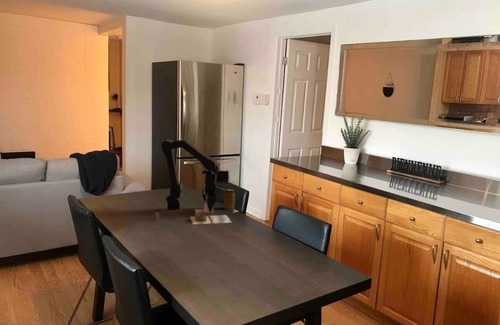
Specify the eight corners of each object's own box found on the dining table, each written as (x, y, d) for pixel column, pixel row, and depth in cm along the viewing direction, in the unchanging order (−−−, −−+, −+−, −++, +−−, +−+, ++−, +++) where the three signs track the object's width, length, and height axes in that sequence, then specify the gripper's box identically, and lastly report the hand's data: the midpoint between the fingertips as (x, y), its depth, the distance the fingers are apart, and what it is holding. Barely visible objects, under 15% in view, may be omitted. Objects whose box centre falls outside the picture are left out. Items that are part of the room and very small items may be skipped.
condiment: (230, 207, 232) (231, 187, 230) (239, 211, 225) (240, 191, 223) (220, 209, 227) (221, 189, 225) (228, 213, 221) (229, 192, 219)
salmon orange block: (205, 214, 216) (206, 204, 215) (204, 212, 220) (204, 202, 219) (213, 214, 217) (213, 203, 216) (211, 212, 221) (211, 201, 220)
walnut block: (196, 221, 200) (196, 212, 199) (194, 218, 205) (195, 209, 204) (206, 221, 202) (206, 211, 201) (204, 218, 206) (204, 208, 205)
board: (193, 226, 196) (193, 224, 196) (189, 218, 207) (189, 216, 207) (231, 224, 202) (232, 222, 202) (226, 217, 214) (226, 215, 213)
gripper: (228, 185, 209) (227, 214, 212) (220, 177, 227) (219, 204, 229) (207, 186, 206) (206, 214, 209) (201, 178, 223) (200, 204, 226)
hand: (208, 209), depth 218 cm, fingers open, 9 cm apart
